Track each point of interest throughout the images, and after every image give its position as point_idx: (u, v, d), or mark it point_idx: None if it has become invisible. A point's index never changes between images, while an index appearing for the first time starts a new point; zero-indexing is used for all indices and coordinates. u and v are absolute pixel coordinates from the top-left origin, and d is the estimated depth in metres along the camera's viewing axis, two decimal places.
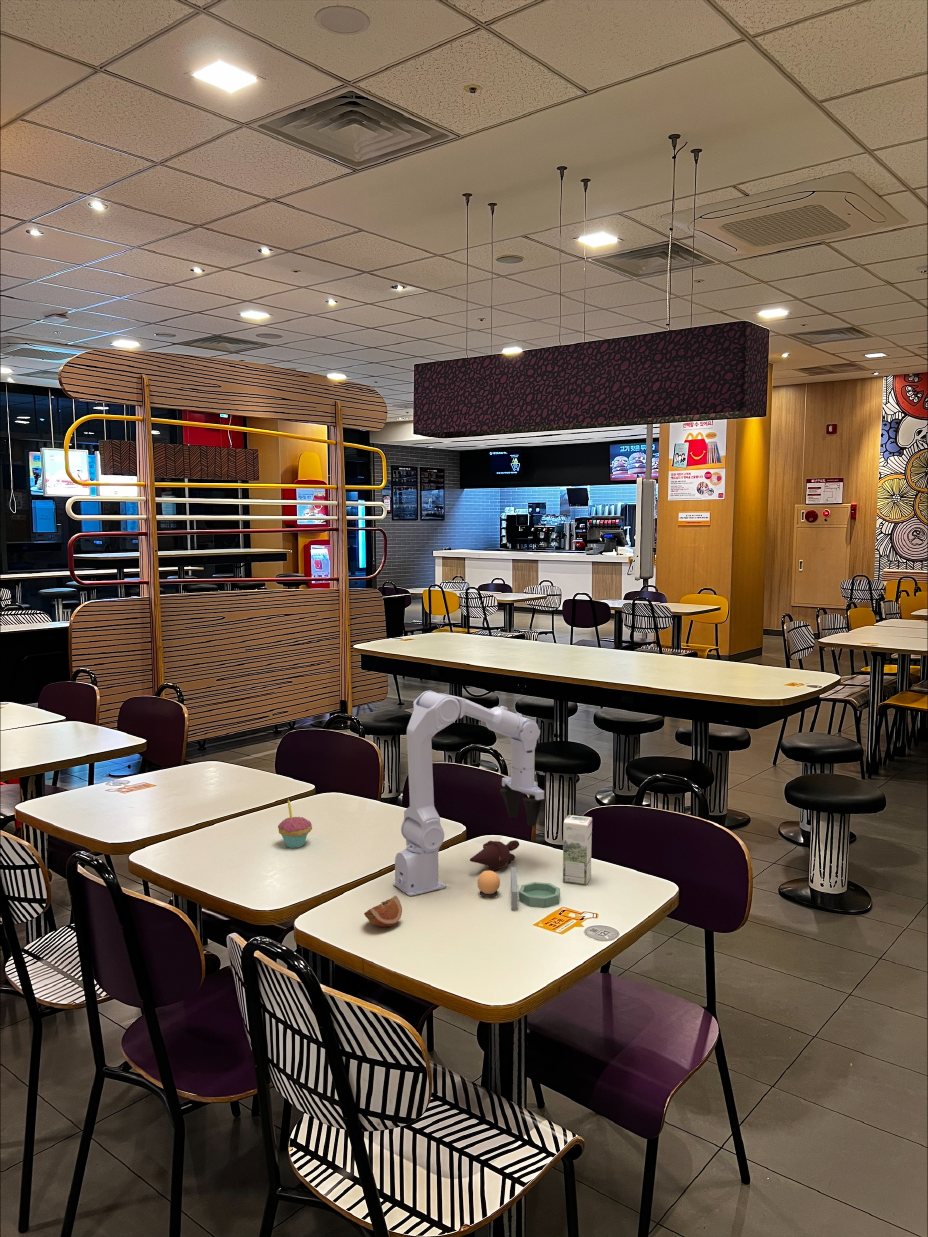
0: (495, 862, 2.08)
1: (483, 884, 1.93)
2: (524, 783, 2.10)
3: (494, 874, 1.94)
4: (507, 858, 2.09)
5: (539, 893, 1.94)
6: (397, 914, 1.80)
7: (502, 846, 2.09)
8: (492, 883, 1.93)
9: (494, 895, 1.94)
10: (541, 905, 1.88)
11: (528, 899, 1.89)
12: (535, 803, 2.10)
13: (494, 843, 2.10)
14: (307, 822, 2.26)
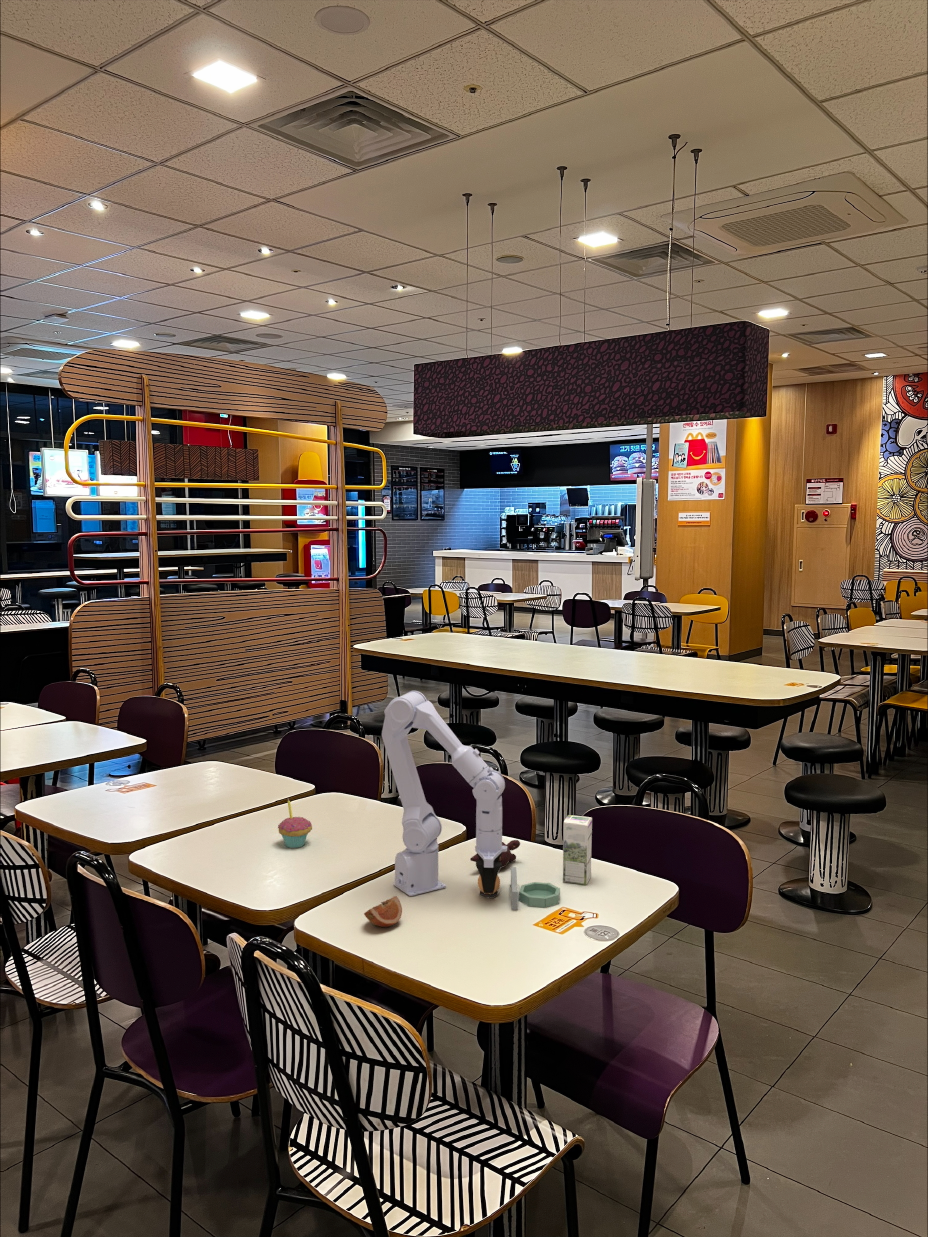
0: None
1: None
2: (482, 846, 1.92)
3: None
4: (508, 858, 2.09)
5: (539, 893, 1.94)
6: (397, 914, 1.80)
7: None
8: None
9: (494, 895, 1.94)
10: (541, 905, 1.88)
11: (528, 899, 1.89)
12: (491, 869, 1.91)
13: None
14: (307, 822, 2.26)
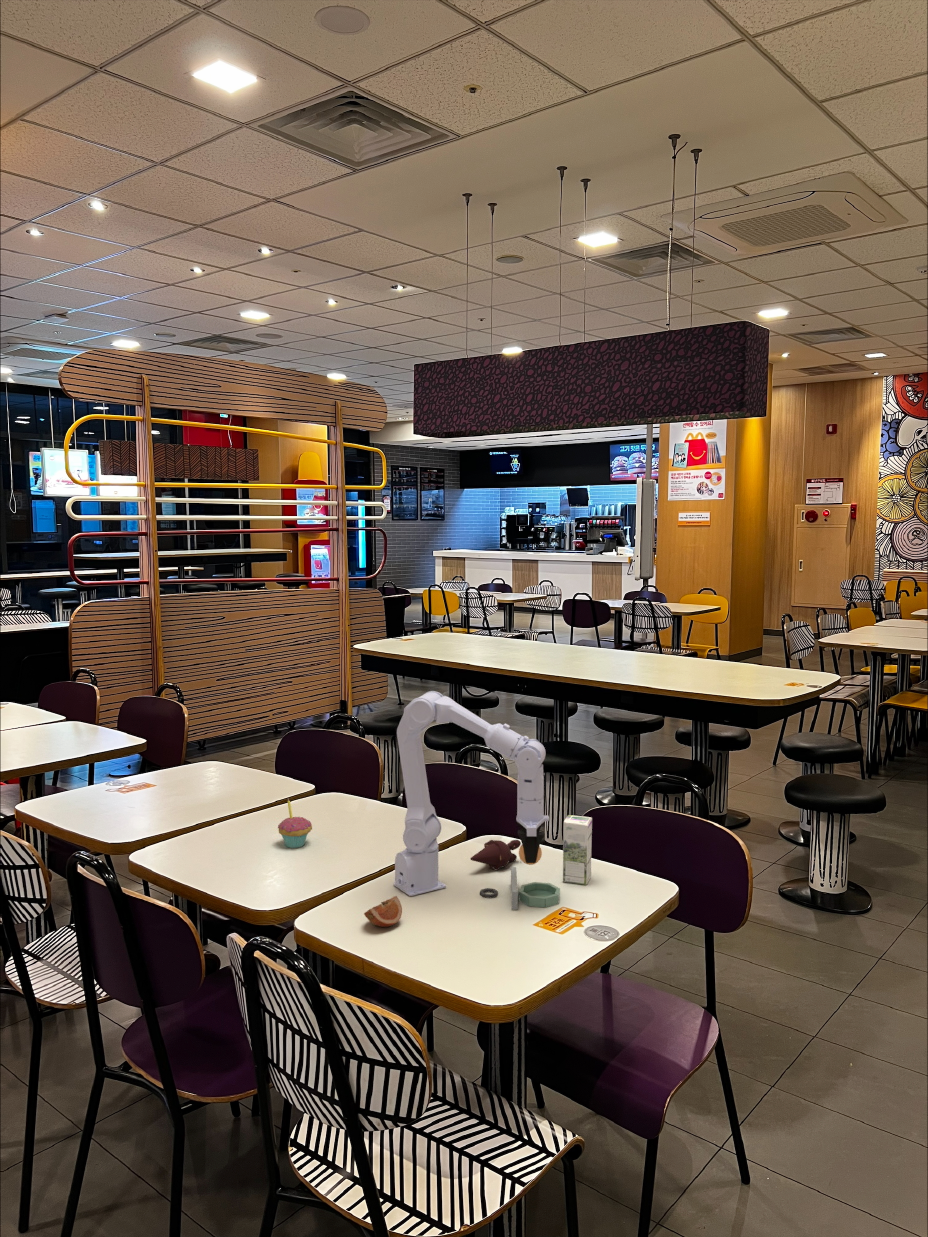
0: (496, 861, 2.09)
1: None
2: (524, 815, 1.89)
3: None
4: (508, 857, 2.10)
5: (539, 893, 1.94)
6: (397, 914, 1.80)
7: (503, 845, 2.10)
8: None
9: (494, 895, 1.94)
10: (541, 905, 1.88)
11: (528, 899, 1.89)
12: (534, 838, 1.89)
13: (495, 842, 2.10)
14: (307, 822, 2.26)
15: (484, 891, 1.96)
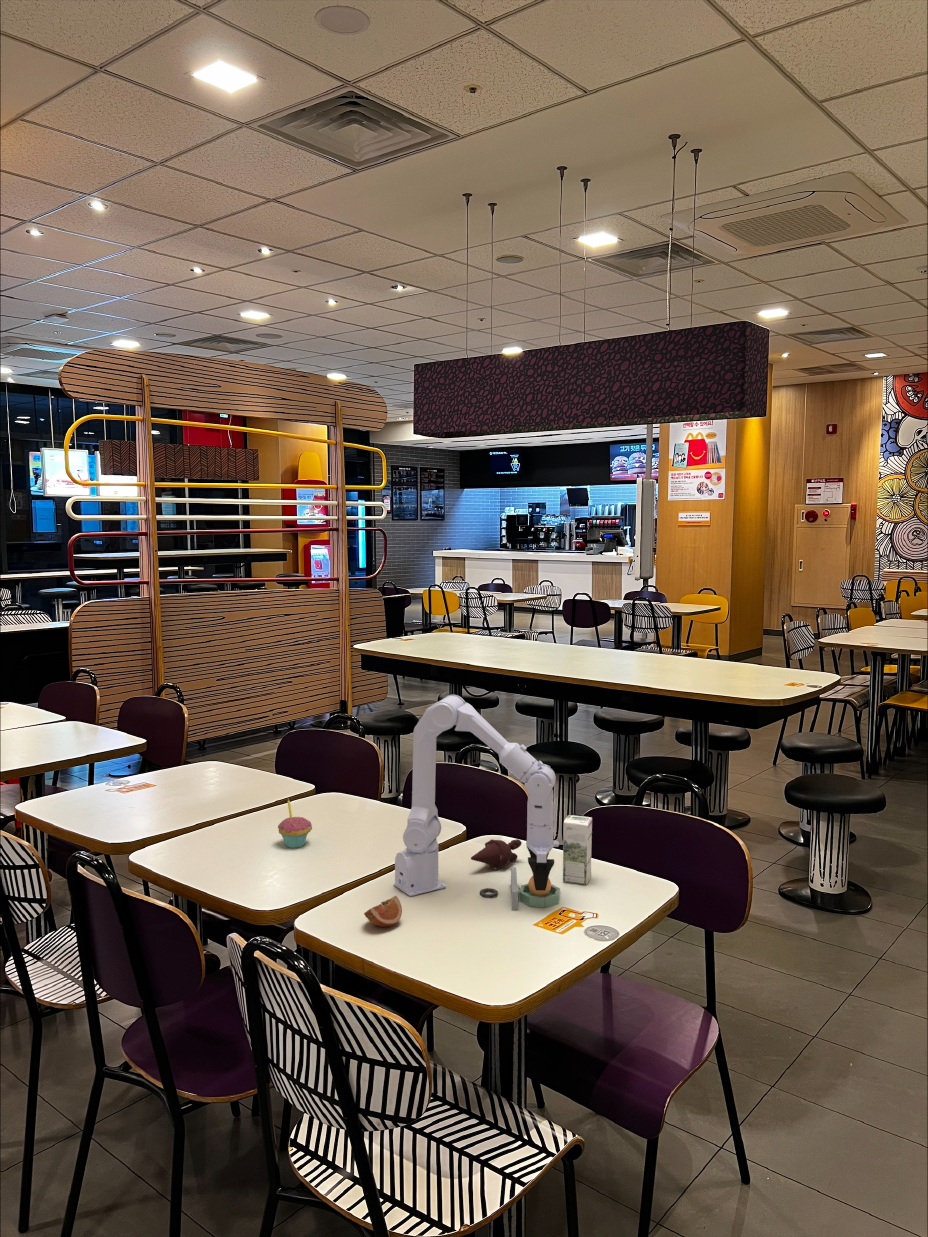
0: (496, 861, 2.09)
1: None
2: (534, 841, 1.89)
3: None
4: (508, 857, 2.10)
5: None
6: (397, 914, 1.80)
7: (503, 845, 2.10)
8: None
9: (494, 895, 1.94)
10: (541, 905, 1.88)
11: (528, 899, 1.89)
12: (544, 866, 1.88)
13: (495, 842, 2.11)
14: (307, 822, 2.26)
15: (484, 891, 1.96)
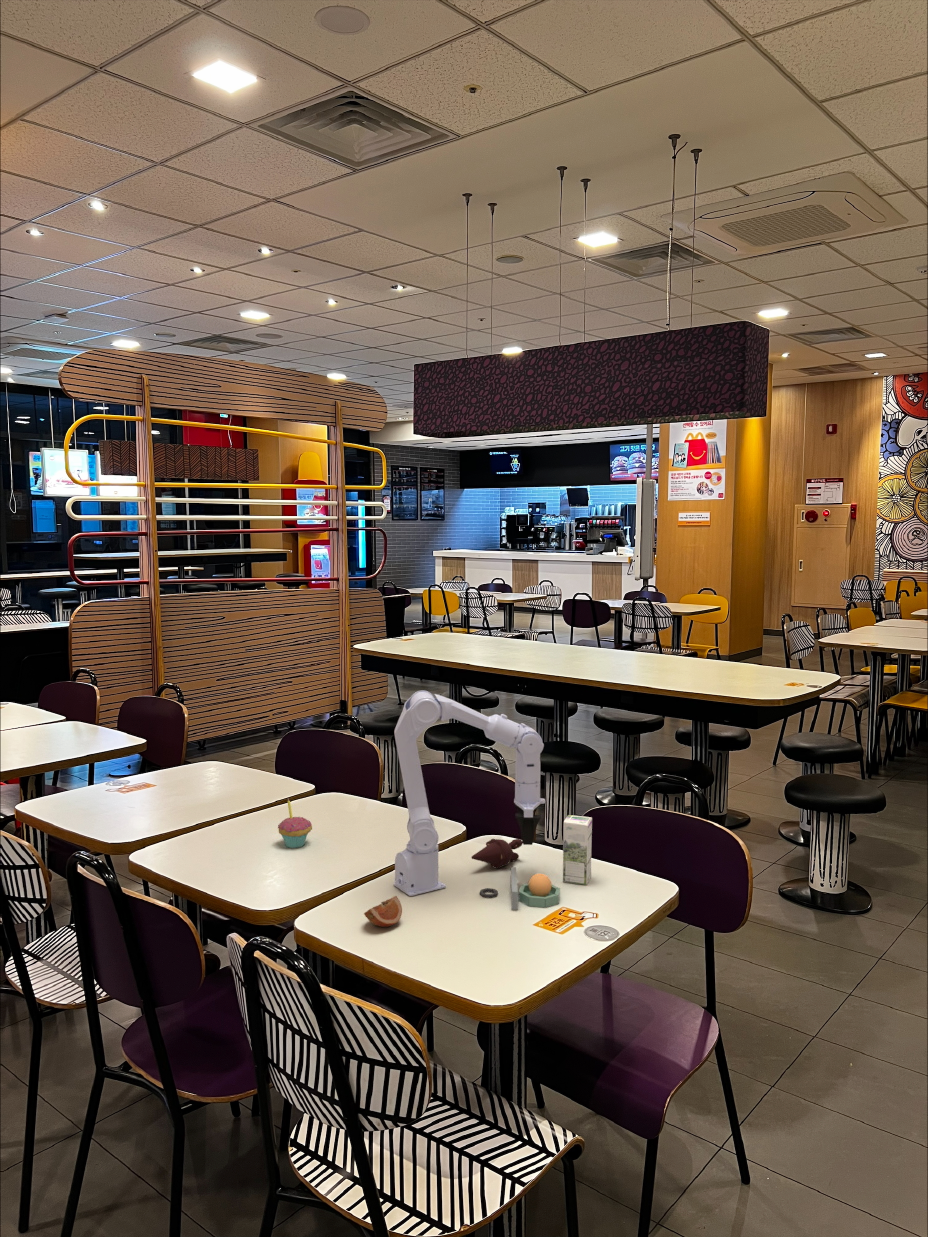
0: (497, 860, 2.09)
1: (535, 888, 1.90)
2: (522, 798, 1.99)
3: (546, 878, 1.92)
4: (509, 856, 2.10)
5: None
6: (397, 914, 1.80)
7: (504, 844, 2.11)
8: (544, 887, 1.90)
9: (494, 895, 1.94)
10: (541, 905, 1.88)
11: (528, 899, 1.89)
12: (531, 821, 1.98)
13: (496, 841, 2.11)
14: (307, 822, 2.26)
15: (484, 891, 1.96)
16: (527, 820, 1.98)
